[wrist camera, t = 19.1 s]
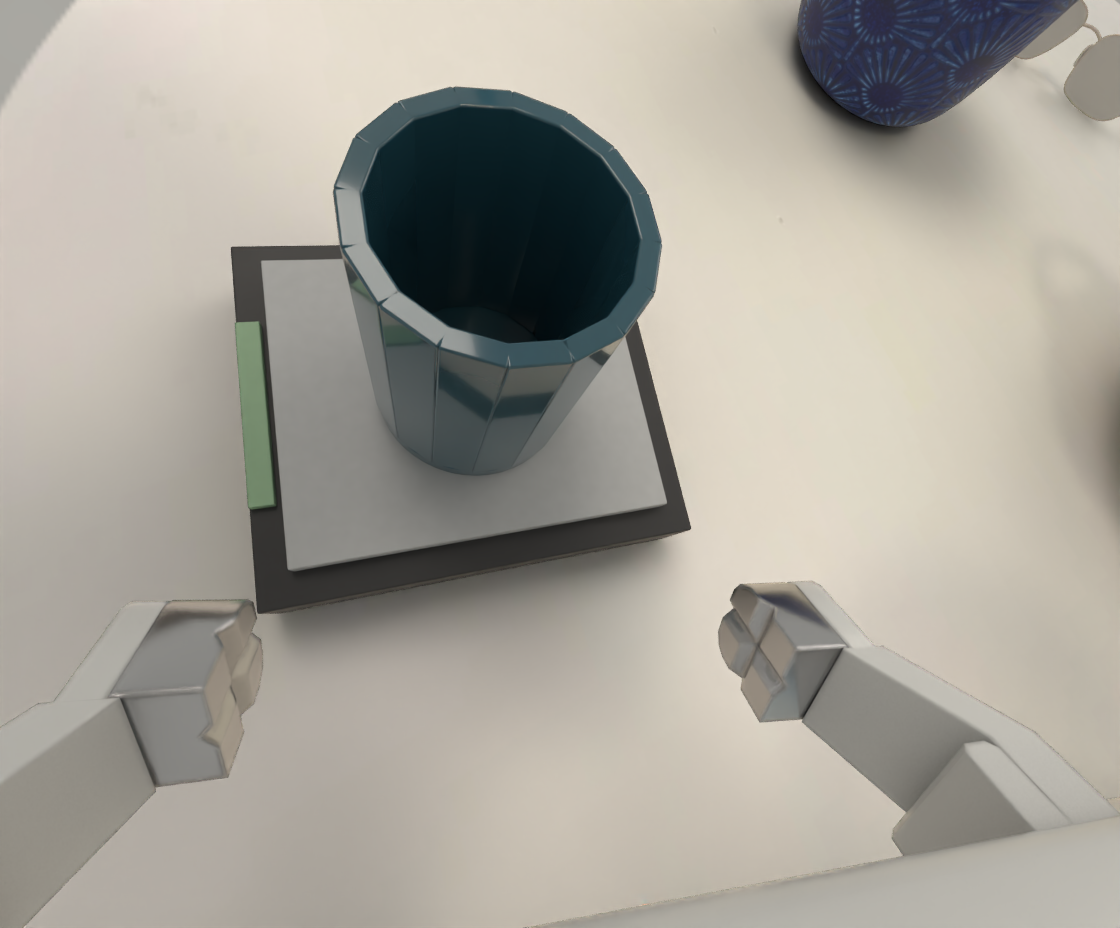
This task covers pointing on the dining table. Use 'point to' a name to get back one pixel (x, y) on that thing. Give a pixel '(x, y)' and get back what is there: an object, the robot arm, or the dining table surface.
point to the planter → (914, 50)
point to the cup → (489, 269)
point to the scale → (398, 476)
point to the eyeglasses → (1085, 65)
